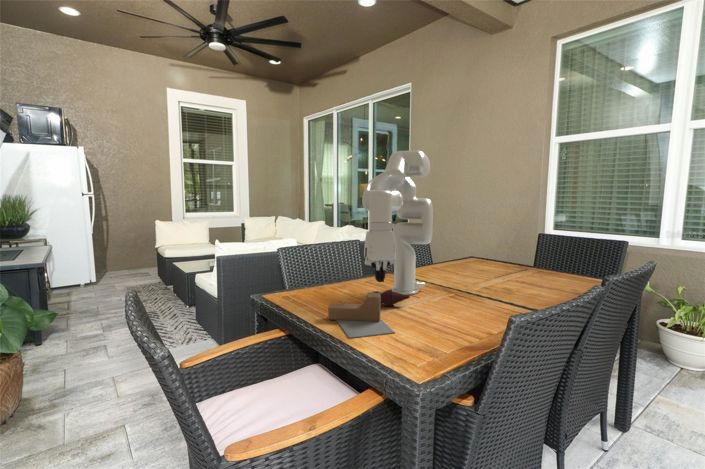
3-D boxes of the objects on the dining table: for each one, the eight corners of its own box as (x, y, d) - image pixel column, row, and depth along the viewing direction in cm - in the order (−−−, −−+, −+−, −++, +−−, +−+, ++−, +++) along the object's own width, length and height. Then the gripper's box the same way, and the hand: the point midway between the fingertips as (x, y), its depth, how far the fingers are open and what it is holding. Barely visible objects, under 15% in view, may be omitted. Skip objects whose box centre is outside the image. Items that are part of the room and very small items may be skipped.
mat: (373, 313, 132) (373, 312, 132) (394, 333, 113) (394, 332, 113) (334, 317, 128) (334, 316, 128) (349, 338, 109) (349, 337, 109)
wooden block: (380, 292, 125) (330, 290, 127) (379, 297, 120) (327, 295, 123) (380, 316, 126) (330, 314, 129) (379, 322, 122) (328, 319, 124)
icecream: (409, 287, 144) (372, 290, 146) (409, 287, 137) (370, 290, 139) (410, 305, 143) (373, 307, 145) (411, 306, 136) (372, 308, 138)
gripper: (396, 225, 124) (395, 277, 126) (355, 227, 120) (355, 280, 122) (405, 227, 117) (404, 282, 119) (362, 228, 113) (362, 285, 115)
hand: (379, 281), depth 121 cm, fingers closed
